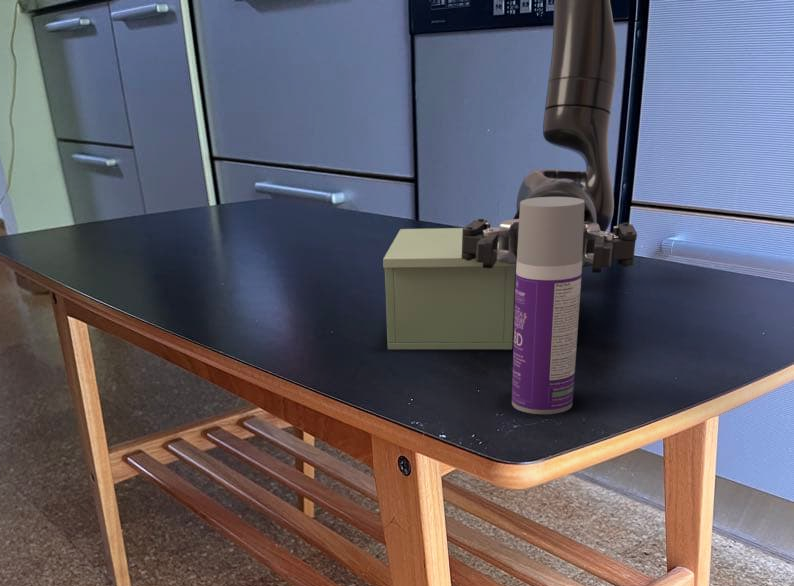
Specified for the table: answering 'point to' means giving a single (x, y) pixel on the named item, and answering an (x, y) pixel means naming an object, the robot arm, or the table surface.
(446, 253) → the lid
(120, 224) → the table surface
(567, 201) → the container
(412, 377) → the table surface
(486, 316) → the chest
